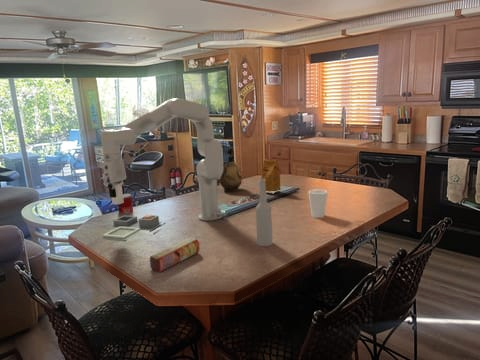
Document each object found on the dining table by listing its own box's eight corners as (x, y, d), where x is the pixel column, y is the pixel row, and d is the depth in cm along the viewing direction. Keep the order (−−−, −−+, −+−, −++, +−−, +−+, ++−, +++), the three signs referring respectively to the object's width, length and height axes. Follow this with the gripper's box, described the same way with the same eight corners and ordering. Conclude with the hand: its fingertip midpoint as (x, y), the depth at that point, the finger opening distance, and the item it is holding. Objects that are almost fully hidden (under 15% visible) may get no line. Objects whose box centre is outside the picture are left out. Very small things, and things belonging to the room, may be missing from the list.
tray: (140, 232, 176) (139, 228, 175) (124, 241, 165) (124, 236, 164) (120, 230, 180) (119, 226, 179) (103, 239, 169) (103, 234, 168)
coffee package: (269, 189, 248) (268, 157, 243) (282, 192, 239) (281, 159, 234) (258, 192, 242) (257, 159, 237) (272, 195, 232) (270, 161, 228)
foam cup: (329, 214, 189) (329, 189, 186) (325, 219, 180) (325, 194, 178) (311, 212, 193) (310, 189, 190) (306, 217, 184) (306, 193, 182)
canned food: (135, 212, 211) (133, 193, 208) (127, 216, 203) (125, 197, 201) (125, 211, 213) (122, 193, 211) (116, 215, 206) (113, 197, 204)
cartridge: (126, 201, 170) (123, 181, 168) (119, 204, 166) (116, 183, 164) (117, 201, 172) (114, 180, 170) (110, 204, 167) (107, 183, 165)
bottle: (261, 247, 150) (258, 182, 144) (254, 242, 156) (251, 179, 150) (275, 244, 152) (273, 179, 146) (268, 239, 158) (265, 177, 152)
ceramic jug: (242, 192, 244) (240, 148, 238) (219, 193, 244) (217, 149, 238) (242, 186, 260) (240, 145, 254) (221, 187, 261) (218, 146, 255)
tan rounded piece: (154, 222, 182) (154, 215, 182) (150, 225, 179) (149, 217, 178) (148, 222, 184) (147, 214, 183) (143, 224, 180) (142, 217, 179)
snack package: (160, 274, 131) (158, 257, 130) (149, 270, 135) (147, 253, 134) (201, 253, 147) (199, 238, 146) (189, 250, 151) (188, 235, 150)
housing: (161, 225, 185) (160, 214, 184) (150, 231, 176) (149, 221, 175) (125, 222, 193) (124, 212, 192) (112, 228, 184) (111, 218, 183)
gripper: (106, 160, 155) (111, 200, 159) (130, 154, 171) (135, 191, 175) (92, 160, 158) (97, 200, 162) (118, 154, 173) (122, 191, 177)
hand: (117, 195), depth 168 cm, fingers closed on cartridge, 5 cm apart
